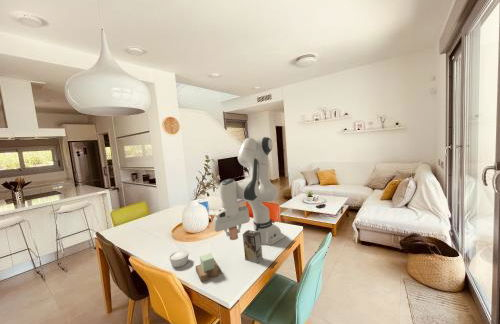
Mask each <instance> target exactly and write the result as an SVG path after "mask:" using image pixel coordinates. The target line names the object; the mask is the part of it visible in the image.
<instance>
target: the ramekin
mask: <svg viewBox="0 0 500 324" xmlns="http://www.w3.org/2000/svg"><path fill="white" fill-rule="evenodd" d="M168 259H169V262H170V264H171V265H170V266H172V267H174V268H179V267H180V268H181V267H183V266H185V265H186V264H187V263H188V261H189V251H188V250H184V249H182V250H177V251H174V252H172V253H171V254H170V255H169V257H168Z"/></svg>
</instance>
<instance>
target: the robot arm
mask: <svg viewBox="0 0 500 324" xmlns="http://www.w3.org/2000/svg"><path fill="white" fill-rule="evenodd" d="M240 145H241V146H240V147H239V151H238V154H237V161H238V163H239V164H240V166H242V167H244V168H247V169H250V175H249V180H248V181H247V182H246V181H245V182H244V181H235V179H234V178H227V179H224V180H222V181H221V182H220V183H219V191H220V194H219V195H220V199H221V206H220V207H218V209H216V210H214V211H213V215H214V217H213V220H212V225H213V226H212V228H213V230H214V231H215V232H222V231H224V232H225V233H226V237H229V236H230V233H229V231H228V230H229V229H228V228H231V227H235V226H237V232H238V234H239V233H241V228H242V225H244V224H247V223H250V220H251V218H250V213H249V207H248V206H247V205H244V206H239V201H238V200H244V201H245V202H246V203H248V205H249V206H250V208H251V210H252V215H253V229H254V230H253V231H255V232H260V236H261V245H267V246H271V245H273V244H275V243H277V242H279V241H281V240H284V239H285V237H286V236H285V234H284V233H283V232H282V231H281V229H280V227H279V226H277V225H276V224H275V223H276V220H275V219H271V218H270V209H269V207H267V206H266V205H264V203H262V202H267V203H270V202H274V201H277V199H278V196H279V191H278V189H277V187H276V186H275V185H274V184H273V183H272V182H271V180H270V176H269V174H270V171H269V169H270V167H269V166H270V163H269V162H270V161H269V154H270V153H271V151H272V150H273V141H272V139H271V138H270V137H268V136H264V137H254V138H252V137H247V138H245V139H244V140H242V143H241V144H240Z"/></svg>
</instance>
